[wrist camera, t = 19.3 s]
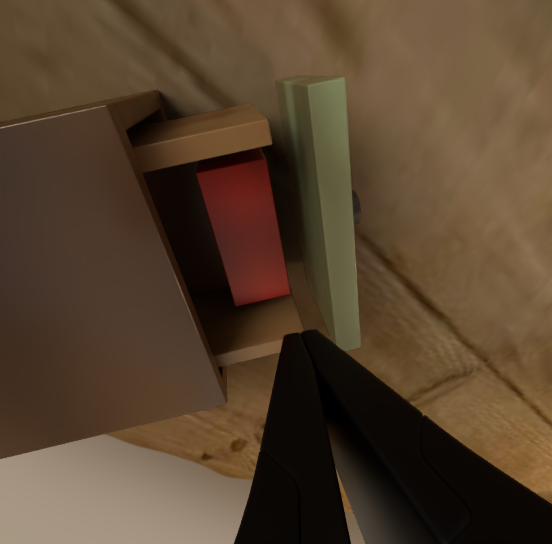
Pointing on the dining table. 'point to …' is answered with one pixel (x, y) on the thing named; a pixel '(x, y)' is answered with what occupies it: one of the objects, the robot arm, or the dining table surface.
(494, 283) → the dining table surface
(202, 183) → the red rectangular block
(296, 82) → the drawer
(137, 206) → the cabinet
